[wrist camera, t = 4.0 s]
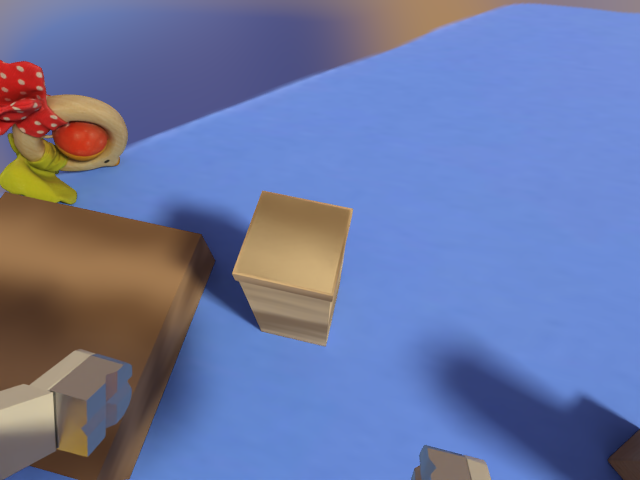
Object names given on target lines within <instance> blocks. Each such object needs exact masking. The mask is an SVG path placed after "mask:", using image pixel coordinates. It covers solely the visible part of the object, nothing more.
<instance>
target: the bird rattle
mask: <svg viewBox="0 0 640 480" xmlns="http://www.w3.org/2000/svg"><path fill="white" fill-rule="evenodd" d="M11 126H12V130H13V133H9V134H8V139H9V142H10V145H11V147H12V149H13V151H14V152H15V153H16V155H17V158H16V159H15V160H14V161H13V162H11V163H10V164H9V165H8V166H7V167H6V168H5V169H4V171H3V172H2V173H1V174H0V185H1V187H2V188H4V189H5V190H7V191H8V192H10V193H12V194H17V195H24V196H26V197H31V198H36V199H40V200H45V201H49V202H54V203H57V202H59V201H61V202H64V203H67V204H74V203H75V202H76V199H77V192H76V191H75V190H74V189H72V188H71V187H70V186H68V185H67V184H66V183H64V182H63V181H61V180H60V179H59V178H57V177H56V175H55V174H58V173H59V171H58V170H60V171H85V170H91V169H95V168H99V167H104V166H116V165H118V164H119V162H120V157H119V156H120V155H121V154H122V153H123V151H124V149H125V147H126V144H127V139H128V132H127V128H126V125H125V122H124V120H123V118H122V117H121V116H120V114H119V113H118V112H117V111H116V110H115V109H114V108H112V107H111V106H110V105H108V104H106V103H104V102H102V101H99V100H97V99H93V98H90V97H86V96H80V95H56V96H50V95H47V94H46V88H45V81H44V75H43V71H42V68H40V67H38V66H37V65H34V64H32V63H30V62H26V61H21V62H15V63H11V64H8V63H5V62H3V61H1V60H0V135H3V134H4V133H5V132H7V130H8V129H9V128H10V127H11ZM50 130H52V135H50V136H48V135H45V134H47V133H48V132H49V131H50ZM43 138H53V139H54V142H55V145H56V146H55V145H53V144H52V143H50V142H47V141H46V140H44V139H43Z"/></svg>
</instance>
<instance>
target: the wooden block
mask: <svg viewBox="0 0 640 480" xmlns="http://www.w3.org/2000/svg"><path fill="white" fill-rule="evenodd" d="M608 462H609V463H610V465H611V466H612V467H613V468H614V469H615V470H616V472H617V473H618V474H619V475H620V476H621V477H622V479H623V480H640V430H638V431H637V432H636V433H635V434H634V435H633V436H632V437H631V438H630V439H629V440H628V441H627V442H625V443H624V444H623V445H622V446H621V447H620V448H619V449H618V450H617V451H616V452H615V453H614V454H613V455H611V456H610V457H609V459H608Z"/></svg>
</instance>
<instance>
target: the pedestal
mask: <svg viewBox="0 0 640 480" xmlns="http://www.w3.org/2000/svg"><path fill="white" fill-rule="evenodd" d="M214 263H215V259H214V257H213V255H212V253H211V252H210V250H209V248H208V246H207V244H206V242H205V240H204V238H203V236H202V235H201V234H198V233H193V232H189V231H184V230H179V229H175V228H170V227H165V226H161V225H156V224H151V223H147V222H142V221H138V220H133V219H128V218H124V217H119V216H114V215H110V214H105V213H100V212H96V211H91V210H87V209H82V208H77V207H73V206H68V205H63V204H59V203H54V202H49V201H45V200H40V199H36V198H31V197H26V196H22V195H17V194H12V193H8V192H5V193H4V194H3V196H2V197H1V198H0V391H2V390H5V389H9V388H12V387H15V386H18V385H22V384H26V385H30V384H31V383H33V382H34V381H35V380H36V379H38V378H39V377H40V376H42V375H43V374H44V373H46V372H47V371H48V370H50V369H51V368H52V367H54V366H55V365H56V364H57V363H59V362H60V361H61V360H63V359H64V358H65V357H67V356H68V355H69V354H71V353H72V352H73V351H75V350H79V349H83V350H86V351H89V352H92V353H95V354H100V355H103V356H107V357H110V358H113V359H117V360H120V361H123V362H126V363H129V364H130V365H132V376H131V377H130V378H129V380H128V381H127V382H128V383H129V385H130V387H131V388H132V395H131V400H130V404H129V406H128V408H127V410H126V412H125V414H124V415H123V417H122V418H121V419H120V420H119V421H118V423H117V424H115V425H112V426H110V427H108V428H106V435H105V438H104V439H103V440H102V441H101V442H100V444H99V445H98V446H97V447H96V448H95V449H94V450H93V452H92V453H91V454H90V455H89V456H88V457H85V456H81V455H77V454H74V453H70V452H66V451H62V450H59V449H56V451H55V452H53V453H51V454H49V455H47V456H46V457H44V458H42V459H40V460H38V461H36V462H35V463H33V464H31V465H29V466H33V467H36V468H40V469H43V470H46V471H50V472H53V473H57V474H60V475H64V476H67V477H71V478H74V479H78V480H125V479H130V476H131V473H132V471H133V468H134V466H135V463H136V461H137V458H138V456H139V453H140V451H141V448H142V446H143V443H144V440H145V438H146V435H147V433H148V430H149V428H150V425H151V423H152V420H153V418H154V415H155V413H156V410H157V407H158V405H159V402H160V400H161V397H162V395H163V392H164V390H165V387H166V385H167V382H168V380H169V377H170V374H171V372H172V369H173V367H174V364H175V362H176V359H177V357H178V354H179V352H180V349H181V347H182V344H183V341H184V339H185V336H186V334H187V331H188V329H189V326H190V324H191V321H192V319H193V316H194V314H195V311H196V308H197V306H198V303H199V301H200V298H201V296H202V293H203V291H204V288H205V286H206V283H207V281H208V278H209V275H210V273H211V270H212V268H213V265H214Z"/></svg>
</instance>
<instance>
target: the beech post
mask: <svg viewBox="0 0 640 480" xmlns="http://www.w3.org/2000/svg"><path fill="white" fill-rule="evenodd" d="M352 212H353V209H351V208H346V207H341V206H336V205H331V204H326V203H321V202H316V201H311V200H306V199H301V198H297V197H292V196H287V195H282V194H277V193H272V192H267V191H262V193H261V196H260V198H259V201H258V204H257V207H256V209H255V212H254V215H253V218H252V220H251V223H250V226H249V228H248V231H247V234H246V237H245V239H244V242H243V245H242V248H241V250H240V253H239V256H238V258H237V261H236V264H235V267H234V269H233V272H232V275H233V277H234V279H235V280H236V281H239V282H240V284H241V287H242V289H243V291H244V293H245V296H246V298H247V300H248V302H249V304H250V307H251V309H252V311H253V313H254V316H255V318H256V320H257V322H258V324H259V327H260V329H261V331H262V332H266V333H271V334H275V335H279V336H283V337H287V338H292V339H296V340H300V341H304V342H309V343H313V344H317V345H321V346H325V347H326V343H327V339H328V334H329V330H330V325H331V321H332V316H333V312H334V307H335V303H336V298H337V294H338V289H339V285H340V278H341V271H342V264H343V258H344V251H345V244H346V240H347V236H348V231H349V227H350V222H351V218H352Z"/></svg>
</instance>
